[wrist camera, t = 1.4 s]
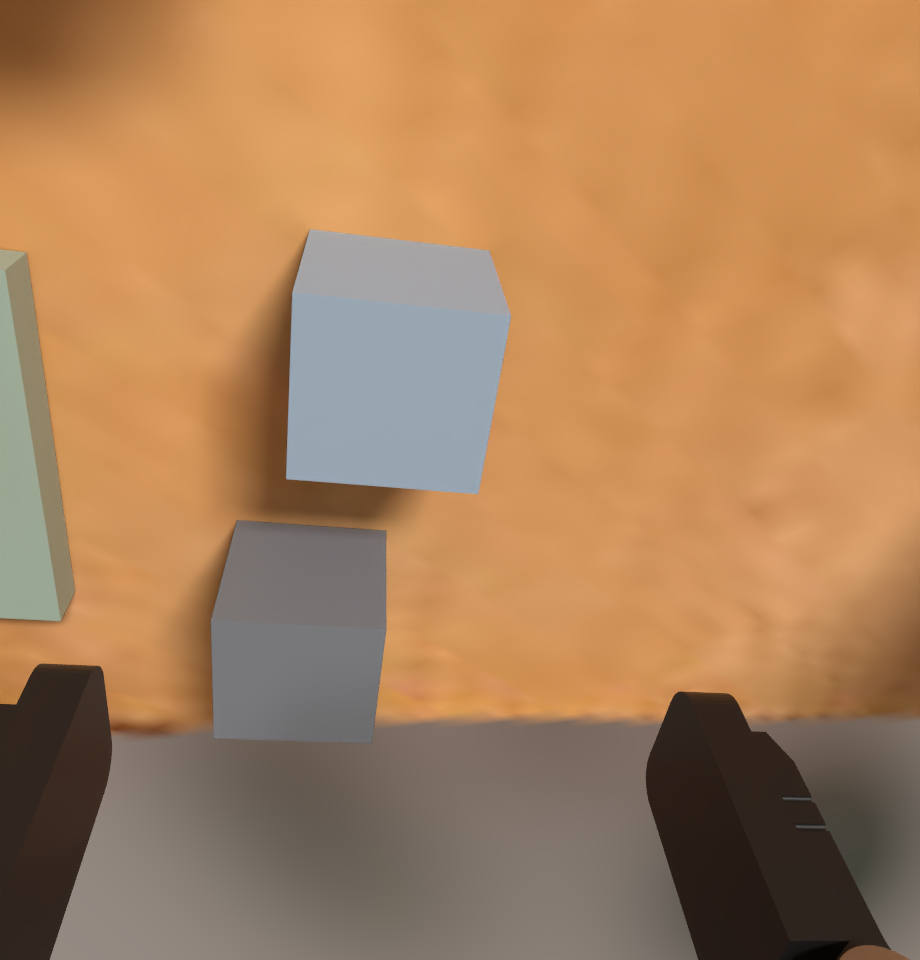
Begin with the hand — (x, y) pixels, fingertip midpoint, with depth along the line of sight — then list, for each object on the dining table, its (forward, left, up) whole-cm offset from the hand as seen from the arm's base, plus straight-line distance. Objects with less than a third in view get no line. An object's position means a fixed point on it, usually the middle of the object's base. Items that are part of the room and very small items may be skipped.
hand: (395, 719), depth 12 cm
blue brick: (0, 0, -15) cm, 15 cm away
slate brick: (+2, +10, -15) cm, 18 cm away
